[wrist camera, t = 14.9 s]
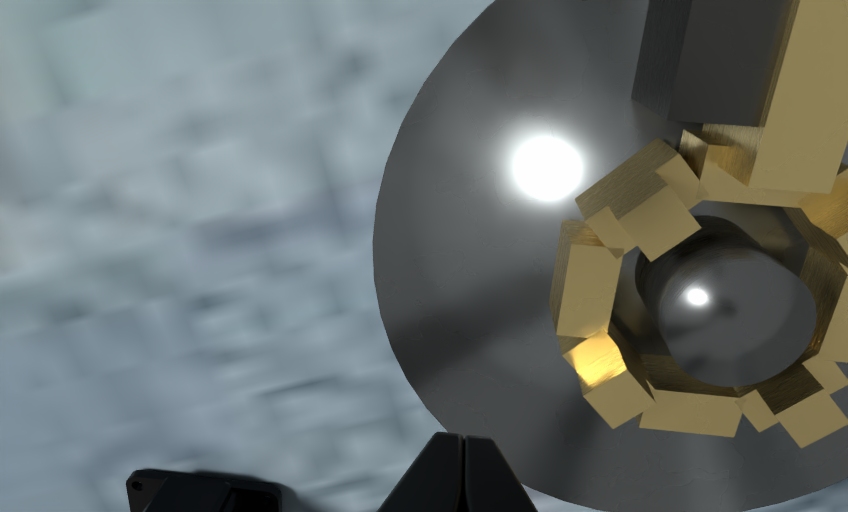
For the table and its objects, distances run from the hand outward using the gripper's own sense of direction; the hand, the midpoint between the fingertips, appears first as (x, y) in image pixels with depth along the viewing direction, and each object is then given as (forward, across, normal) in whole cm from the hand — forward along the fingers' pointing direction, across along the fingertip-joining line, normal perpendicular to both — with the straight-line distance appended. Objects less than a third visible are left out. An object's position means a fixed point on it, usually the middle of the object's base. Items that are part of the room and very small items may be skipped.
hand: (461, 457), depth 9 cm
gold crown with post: (+10, -7, -2) cm, 13 cm away
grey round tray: (+12, -7, +1) cm, 14 cm away
